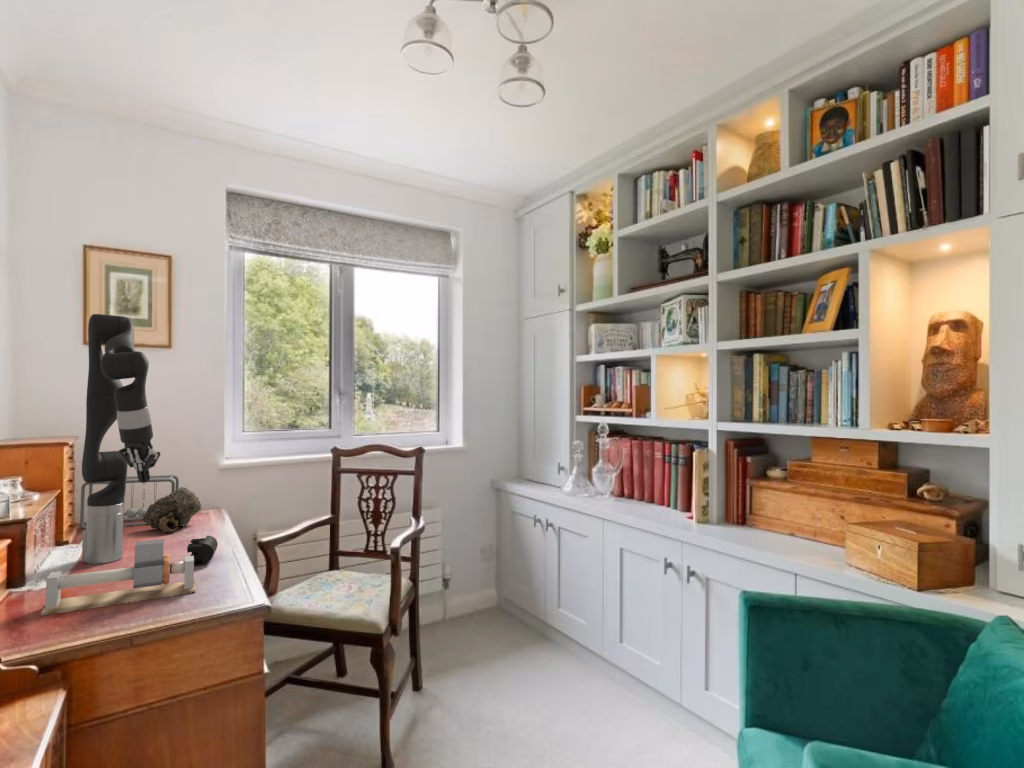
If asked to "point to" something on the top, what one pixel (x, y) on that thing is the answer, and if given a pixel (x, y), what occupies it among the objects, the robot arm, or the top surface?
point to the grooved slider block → (148, 563)
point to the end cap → (202, 549)
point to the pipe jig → (107, 579)
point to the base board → (118, 597)
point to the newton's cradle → (132, 511)
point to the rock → (172, 510)
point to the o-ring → (166, 569)
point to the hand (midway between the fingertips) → (144, 481)
